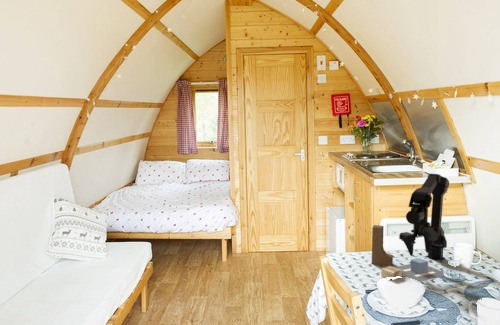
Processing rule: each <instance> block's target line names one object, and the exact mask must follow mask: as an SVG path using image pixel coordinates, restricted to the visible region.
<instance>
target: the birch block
mask: <svg viewBox="0 0 500 325" xmlns="http://www.w3.org/2000/svg"><path fill="white" fill-rule="evenodd" d="M395 267H396V266H393V265H392V266H385V267H383V268H382V267H381V271H380V276H381V278H384V277H396V276H402V277H403V274H402V270H401V269H398V268H395Z"/></svg>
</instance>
